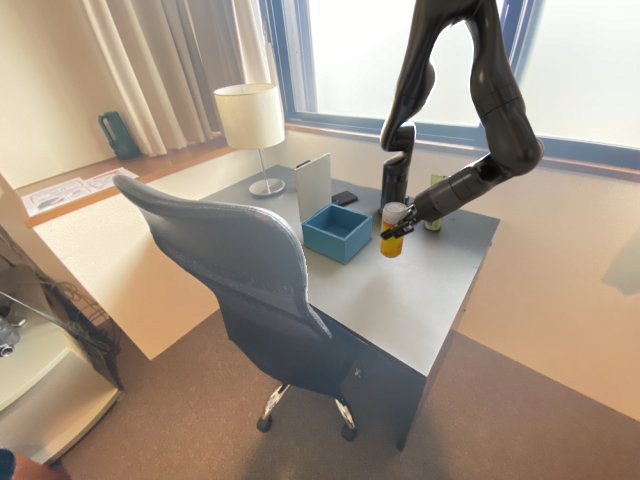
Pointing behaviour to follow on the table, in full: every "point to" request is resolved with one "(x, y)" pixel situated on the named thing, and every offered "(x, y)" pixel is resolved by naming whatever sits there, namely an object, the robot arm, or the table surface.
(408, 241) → the table surface
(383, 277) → the table surface
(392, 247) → the beer can
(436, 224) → the tube
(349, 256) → the blue open box
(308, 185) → the lid
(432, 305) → the table surface
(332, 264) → the table surface
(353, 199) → the smart home device
